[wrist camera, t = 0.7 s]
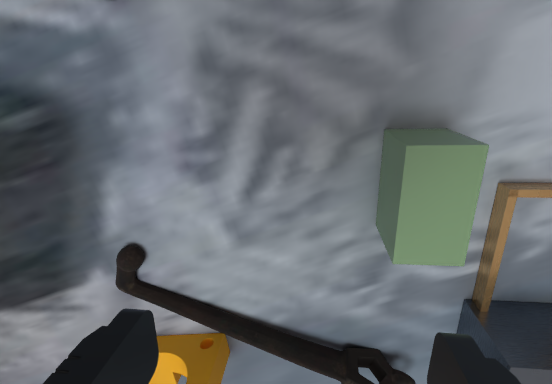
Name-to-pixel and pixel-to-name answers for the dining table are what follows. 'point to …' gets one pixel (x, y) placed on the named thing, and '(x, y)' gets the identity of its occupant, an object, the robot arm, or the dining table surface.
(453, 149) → the sage green upright block
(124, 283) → the wrench
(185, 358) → the pipe clamp
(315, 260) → the dining table surface
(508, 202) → the grey block with frame
